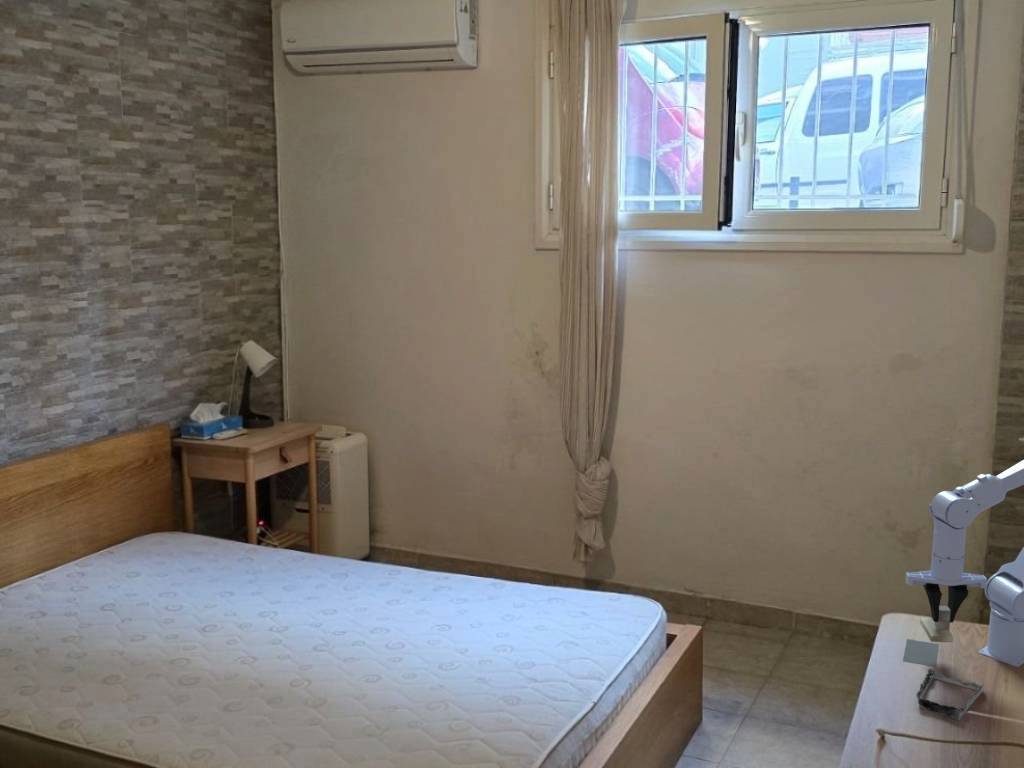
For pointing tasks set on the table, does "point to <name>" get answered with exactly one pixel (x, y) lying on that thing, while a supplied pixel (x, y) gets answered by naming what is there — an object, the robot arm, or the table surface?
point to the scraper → (938, 626)
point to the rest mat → (921, 652)
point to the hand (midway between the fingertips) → (942, 620)
